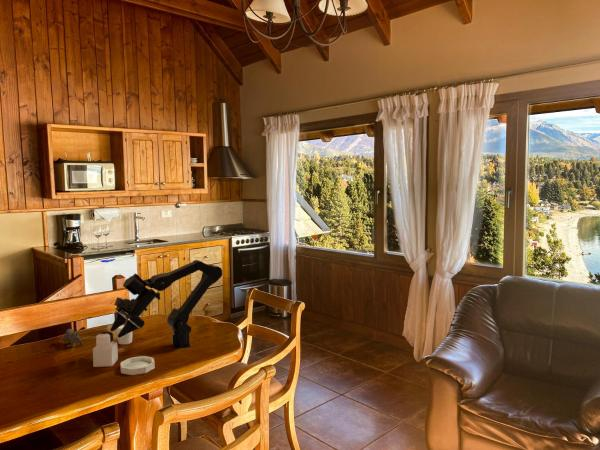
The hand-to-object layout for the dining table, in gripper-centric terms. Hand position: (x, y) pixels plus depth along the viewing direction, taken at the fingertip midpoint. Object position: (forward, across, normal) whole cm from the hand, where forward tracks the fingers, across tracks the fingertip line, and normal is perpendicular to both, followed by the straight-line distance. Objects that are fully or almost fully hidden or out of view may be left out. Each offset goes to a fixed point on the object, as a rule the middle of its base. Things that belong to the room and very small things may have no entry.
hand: (114, 333), depth 179 cm
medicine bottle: (+10, 0, +5) cm, 12 cm away
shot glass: (+1, -19, +15) cm, 24 cm away
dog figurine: (+14, -31, +2) cm, 34 cm away
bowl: (+4, +12, +11) cm, 17 cm away
